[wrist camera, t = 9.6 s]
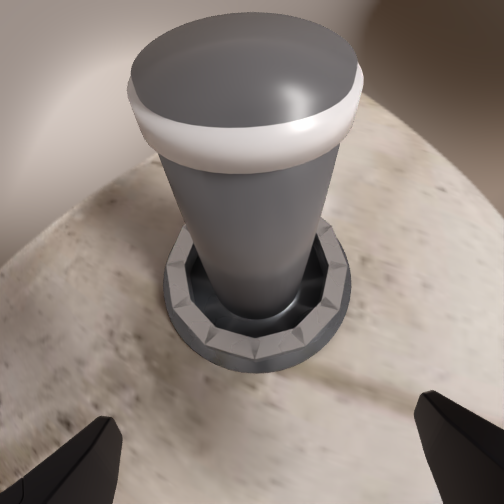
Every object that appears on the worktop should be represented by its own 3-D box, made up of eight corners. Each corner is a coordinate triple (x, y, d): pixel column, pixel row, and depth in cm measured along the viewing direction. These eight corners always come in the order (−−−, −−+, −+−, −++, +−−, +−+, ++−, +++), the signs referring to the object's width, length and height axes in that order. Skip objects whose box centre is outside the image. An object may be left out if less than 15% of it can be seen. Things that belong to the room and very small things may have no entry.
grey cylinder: (268, 342, 16) (285, 165, 4) (190, 287, 18) (79, 83, 6) (320, 265, 18) (394, 47, 6) (245, 220, 19) (225, 2, 7)
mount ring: (327, 394, 15) (335, 394, 13) (138, 338, 17) (126, 331, 15) (360, 221, 20) (367, 206, 18) (202, 186, 21) (197, 169, 20)
